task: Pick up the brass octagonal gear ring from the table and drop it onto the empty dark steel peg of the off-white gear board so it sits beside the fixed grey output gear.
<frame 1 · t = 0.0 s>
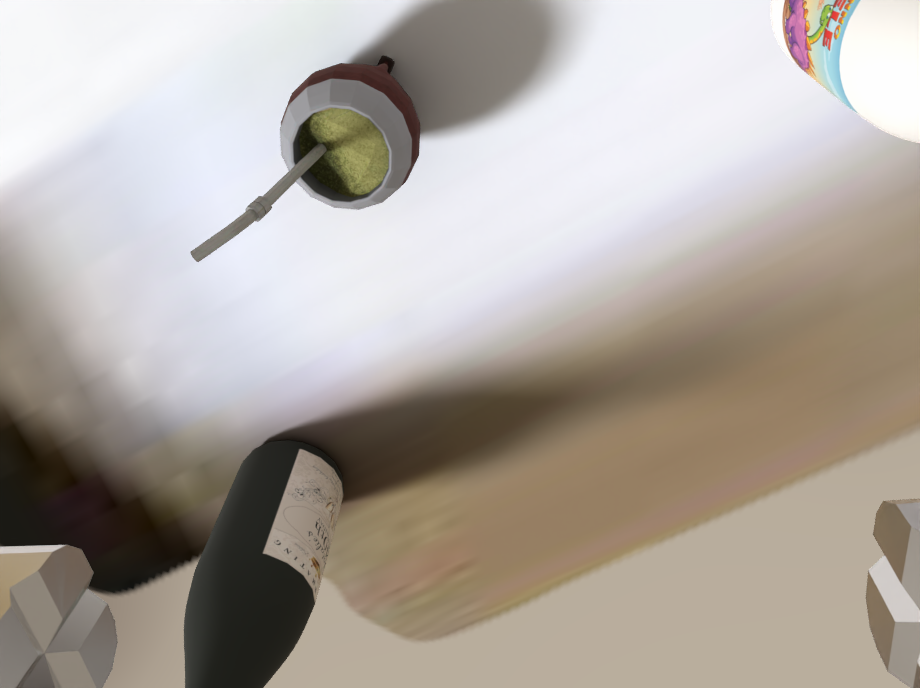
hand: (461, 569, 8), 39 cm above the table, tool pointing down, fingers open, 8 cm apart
wine bottle: (295, 471, 61), on the table
mate gourd: (361, 111, 45), on the table
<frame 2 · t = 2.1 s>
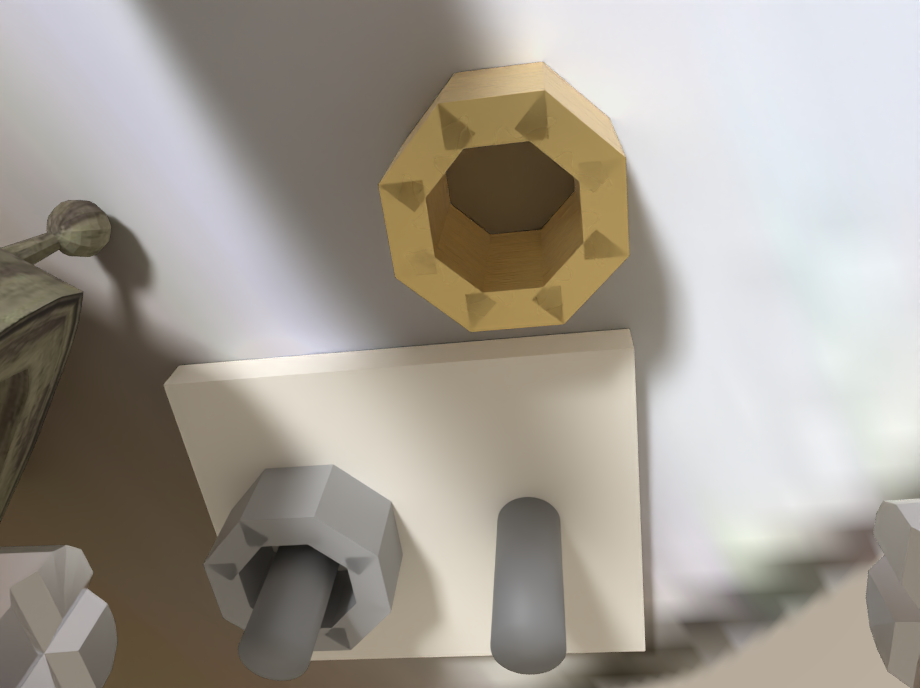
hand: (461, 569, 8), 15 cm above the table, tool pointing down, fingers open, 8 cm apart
brass gear: (509, 171, 21), on the table
gear board: (425, 503, 27), on the table
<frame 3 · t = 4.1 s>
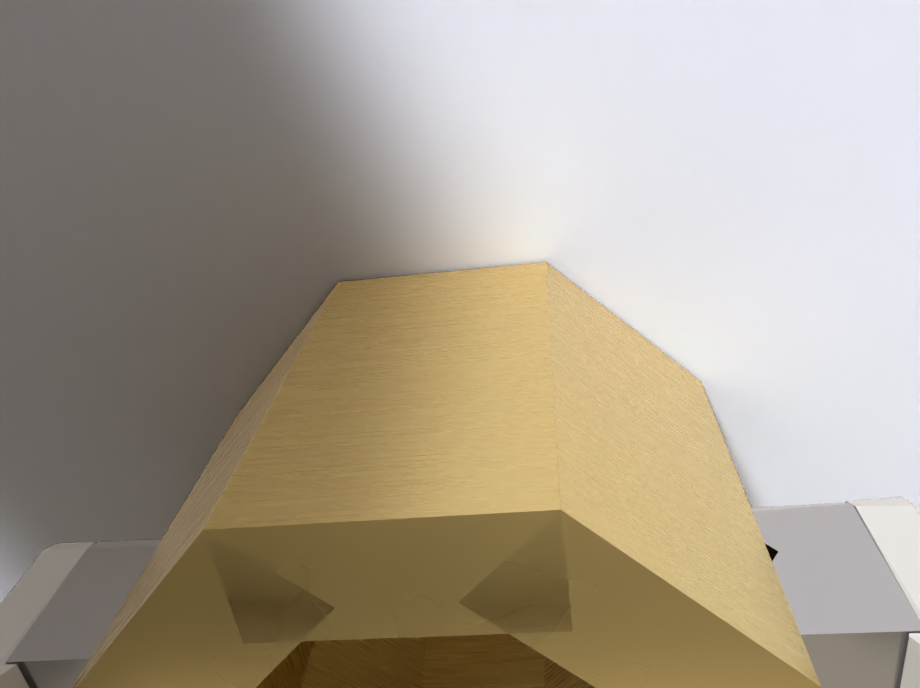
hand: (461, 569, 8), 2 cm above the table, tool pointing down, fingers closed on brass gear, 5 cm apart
brass gear: (472, 477, 10), on the table, touching gripper
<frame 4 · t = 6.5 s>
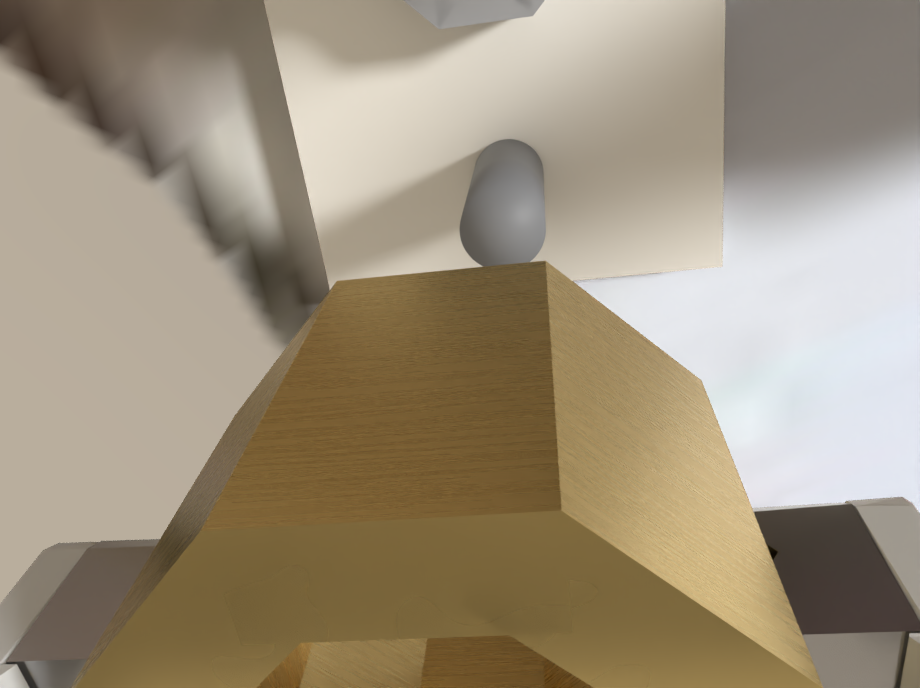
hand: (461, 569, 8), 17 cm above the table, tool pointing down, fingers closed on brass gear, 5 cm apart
brass gear: (471, 477, 9), point 16 cm above the table, touching gripper
gear board: (496, 41, 22), on the table
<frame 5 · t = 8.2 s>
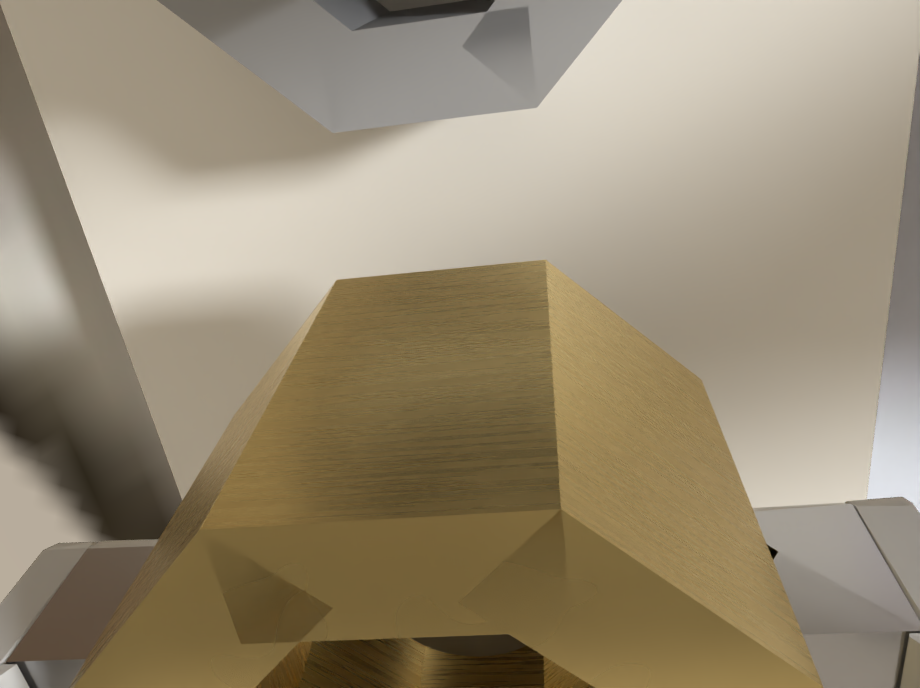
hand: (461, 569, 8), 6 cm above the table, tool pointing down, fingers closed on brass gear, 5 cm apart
brass gear: (471, 476, 9), point 5 cm above the table, touching gripper
gear board: (467, 124, 12), on the table
when the fingers open (5 cm above the table, at t = 9.2 s): brass gear drops 2 cm, resting on gear board.
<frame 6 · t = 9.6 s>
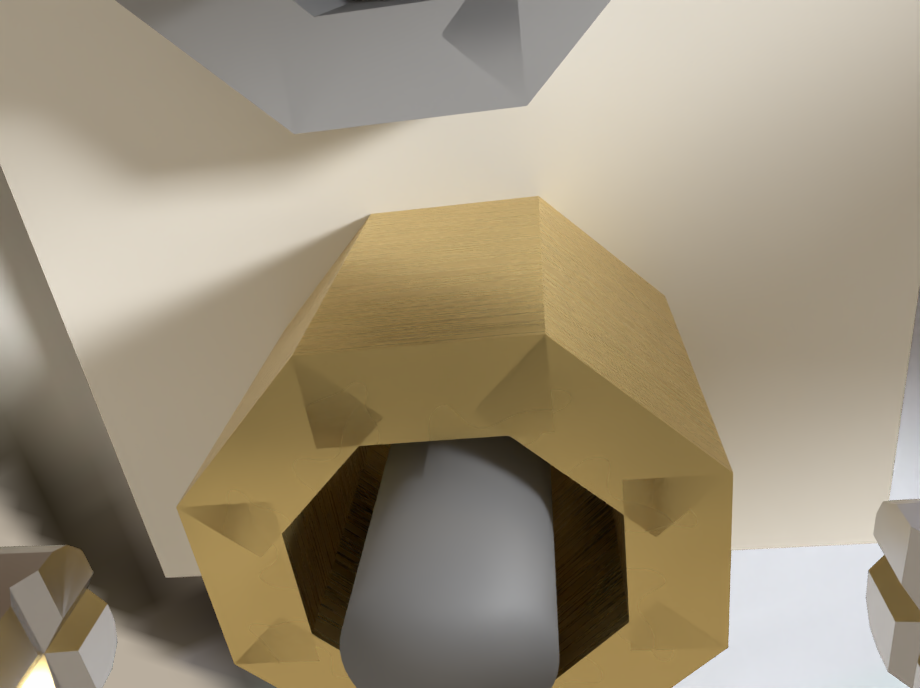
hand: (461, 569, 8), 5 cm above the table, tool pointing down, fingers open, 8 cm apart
brass gear: (478, 381, 12), point 1 cm above the table, touching gear board
gear board: (452, 123, 11), on the table
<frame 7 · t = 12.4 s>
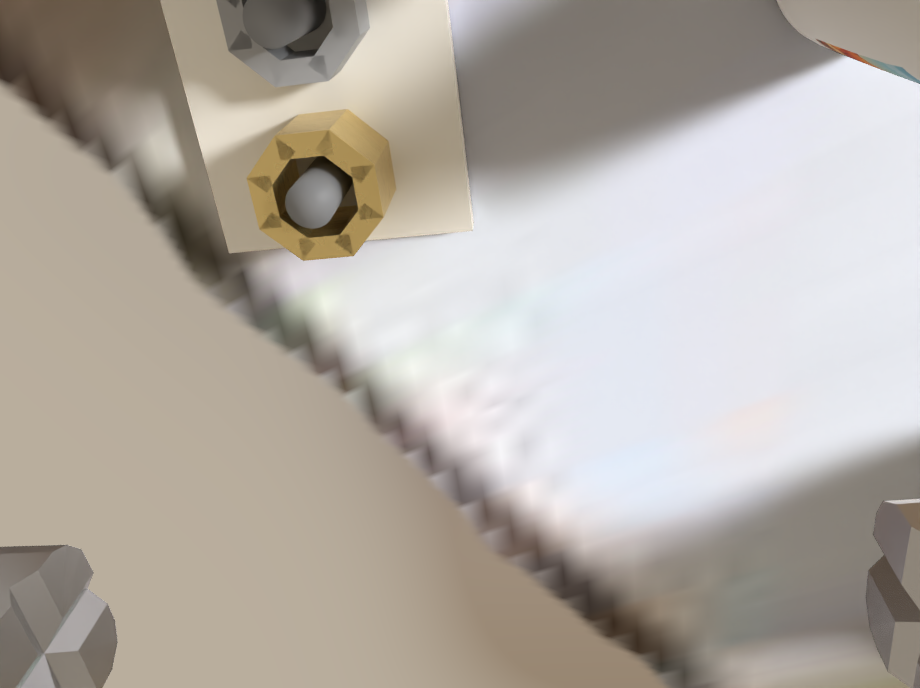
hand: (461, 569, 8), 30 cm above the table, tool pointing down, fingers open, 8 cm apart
brass gear: (334, 171, 36), point 1 cm above the table, touching gear board
gear board: (325, 87, 36), on the table
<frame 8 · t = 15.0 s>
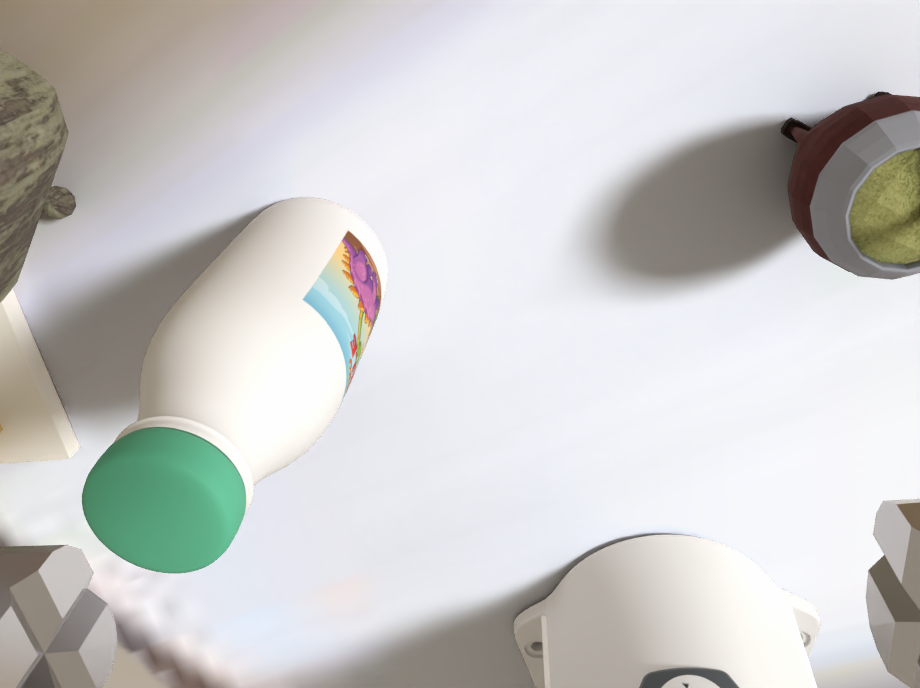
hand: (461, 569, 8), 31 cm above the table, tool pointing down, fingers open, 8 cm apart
mate gourd: (849, 148, 36), on the table
milk bottle: (317, 264, 41), on the table
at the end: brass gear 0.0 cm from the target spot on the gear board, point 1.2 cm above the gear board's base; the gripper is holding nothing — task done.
